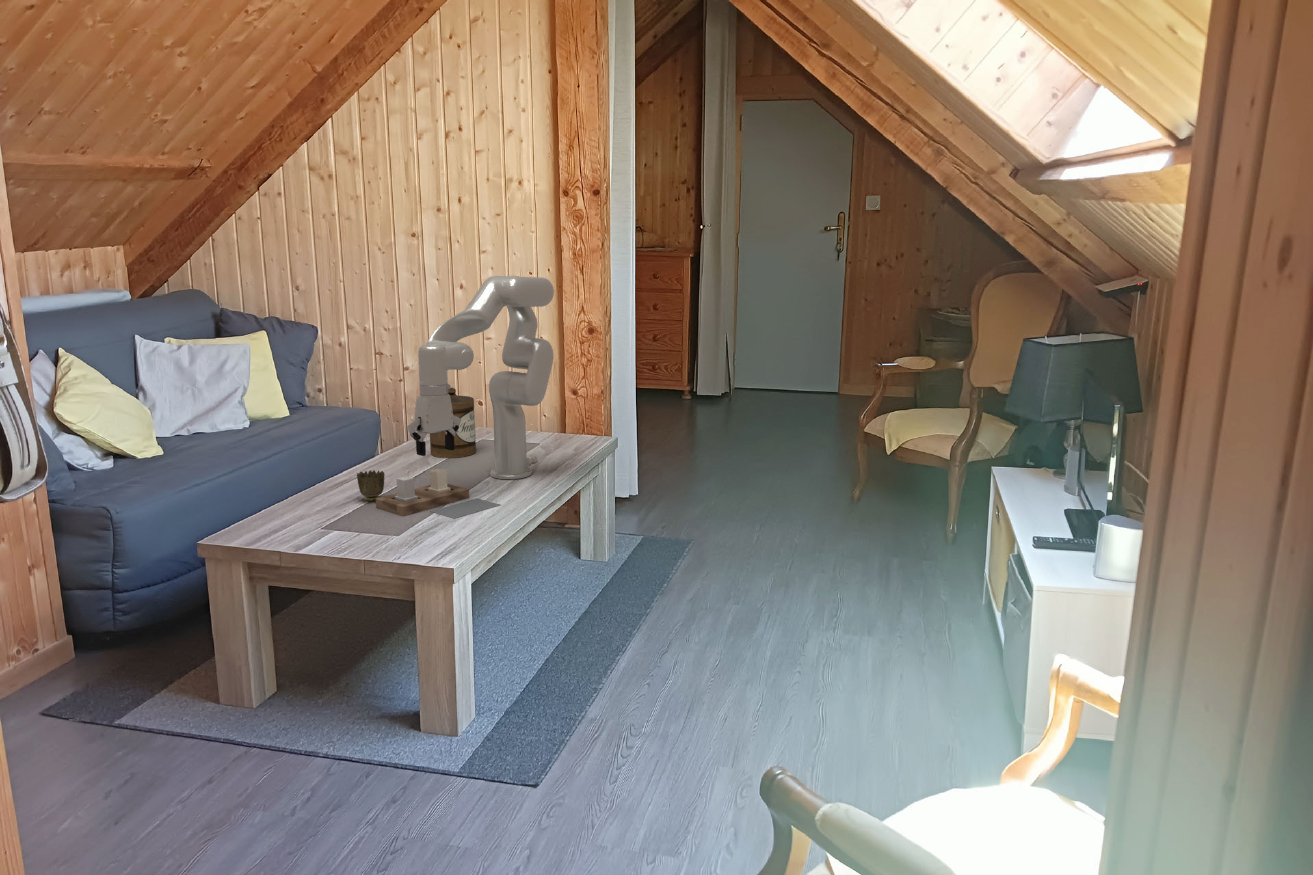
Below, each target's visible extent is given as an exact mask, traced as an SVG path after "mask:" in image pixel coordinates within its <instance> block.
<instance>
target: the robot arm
mask: <svg viewBox="0 0 1313 875" xmlns="http://www.w3.org/2000/svg"><path fill="white" fill-rule="evenodd" d="M554 296H555V289H554V286H553V284H552V282H551V281H550V280H549V279H548V278H547V277H538V276H537V277H536V276H512V275H511V276H507V275H493V276H490V277H488V278H486V279H485V280H484V282H483V283H482V284H481V286H480V287H479V288H478V290H477V291H476V293H475V294H474V295H473V297H472V298H471V300H470V302H469V303H468V304H467V305H466V307H464V308H465V309H464V310H462V311H460V312H458V313H456V314H455V315H453V316H452V317H451V318H449V319H447V320H446V321H444V322H442V323H441V324H440V325H439V326H437V328H436V329H435V330H434V331H433V332H432V334H431V336H430V337H429V338H428V339H427V342H426V343H425V344H423V345H420V346H419V348H418V352H417V354H418V356H417V357H418V378H419V380H418V383H419V384H418V385H419V386H418V387H419V395H417V397H416V401H415V407H414V420H413V421H412V422H411V423H410V424H408V425H407V431H408V432H409V435H410V436H411V438H412V439H413V441H415V451H416V455H418V456H422V457H425V456H426V455H427V454H426V453H427V449H426V448H427V447H426V441H424V440H425V438H426V437H427V435H430V433H436V432H442V431H445V432H446V434H447V435H445V449H447V450H452V451H453V450H454V436H455V435H456V432H457V430H458V429H459V425H460V423H461V418H459V417H456V416H454V415H453V410H452V403H451V398H450V395H449V394H448V389H450V388H451V384H448V383H449V380H448V379H449V377H448V376H449V374H448V373H449V372H448V371H449V370H455V371H457V370H459V371H460V370H461V371H462V370H465V369H467V368H469V367H470V366H471V365H472V363H473V362H474V358H475V355H474V351H473V349H472V347H471V346H470V345H468V344H466V343H464V342H459V341H460V340H461V339H465V338H467V337H471V336H474V335H477V334H479V333H482V332H485V331H486V330H488V329H489V328H491V326H492V325H493V323H494V322H495V320H496V319H497V316H498V315H499V314H500V313H501V311H502V310H503V308H504V307H506V308H507V312H508V315H509V316H508V317H509V320H508V321H509V322H508V328H507V331H506V335H505V340H504V344H503V348H502V354H501V360H502V362H503V364H504V365H505V366H506V367H509V368H512V369H520V370H527V372H521V371H512V370H511V371H510V370H509V371H508V370H503V371H498V372H496V373H494V374H493V375H492V376H491V377H490V379H489V383H488V393H489V396H490V397H489V398H490V401H491V405H492V414H493V416H492V417H493V440H494V441H493V443H494V468H492V469H491V470H490V474H489V475H490V476H491V477H492V478H495V479H500V480H517V479H524V478H528V477H530V476H531V475H532V474H533V470H532V468H531V467H530V466H531V465H537V464H538V463H539V459H538V457H536V456H535V457H531V458H529V457H527V432H526V431H527V430H526V429H527V428H526V425H527V421H526V415H525V412H524V409H523V407H522V406H529V407H534V406H538V405H539V404H540V403H542V402H543V400H544V398H545V396H546V392H547V389H548V385H549V380H550V377H551V376H550V375H551V373H552V368H553V363H554V348H553V346H552V345H551V342H549V341H547V340H546V339H544V338H539V337H536V336H537V331H538V318H537V315H536V314H535V312H534V310H533V308H534V307H540V308H541V307H546V306H548V305H549V304H550V303H551V302H552V301H553V298H554ZM453 421H454V425H453Z"/></svg>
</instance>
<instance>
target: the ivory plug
mask: <svg viewBox="0 0 1313 875" xmlns="http://www.w3.org/2000/svg"><path fill="white" fill-rule="evenodd" d="M429 477H430V485H431V487H430V488H428V491H430V492H433V493H437V494H440V493H444V492H448V491H451V488H449V487H447V484H448V470H447V469H442V468H436V469H435V468H434V469H431V470H429Z"/></svg>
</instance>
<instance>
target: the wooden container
mask: <svg viewBox="0 0 1313 875" xmlns="http://www.w3.org/2000/svg"><path fill="white" fill-rule="evenodd" d="M456 392H457V390H456V388H454V387H450V389H448V394H449V395H450V398H451V403H452V410H453V415H454V416H456V417H459V418H461V423H460V425H459V429H458V430H457V432H456V435H455V436H454V450H453V451H452V450H447V449H445V435H447V434H446V432H445V431H442V432H436V433H430V434H429V444H430V447H429V449H430V455H431V456H433V457H437V458H441V457H442V458H445V459H451V458H452V459H453V458H454V459H456V458H457V459H458V458H465V457H469V455H470V456H472V455H474V454H475V453H476V452H477V446H476V443H477V442H476V440H477V438H476V422H475V420H476V419H475V400H474V398H473V397H472V396H469V395H458V394H457V393H456ZM453 425H454V421H453ZM442 458H441V459H442Z"/></svg>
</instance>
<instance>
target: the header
mask: <svg viewBox="0 0 1313 875" xmlns="http://www.w3.org/2000/svg"><path fill="white" fill-rule="evenodd" d="M430 487H431V484H429V485H424V486H421V487H417V488H414V490H415V496H418V499H417V500H413V501H410V502H406V503H404V502H401V501H398V500H395V496H398V494H397V492H396V493H393V494H389V495H385V496H382V497H380V496H379V498H376V501H375V508H376V509H379V510H382V511H385V512H389V513H392V514H395V515H398V516H401V517H405V516H410V515H414V514H417V513H420V512H425V511H427V510H432V509H434V508H436V509H437V508H438V507H441V506H443V507H444V506H446V505H451V504H453V503H458V502H460V501H466V500H467V499H470V489H469V488H466V487H461V486H457V485H454V484H450V483H447V487H449V488H451V491H448V492H444V493H440V494H437V493H433V492H430V491H428V488H430Z"/></svg>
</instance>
